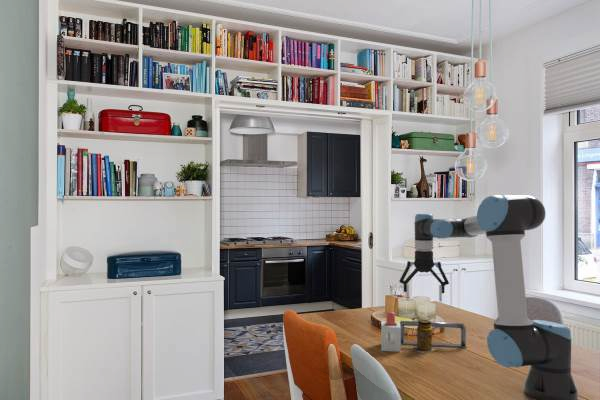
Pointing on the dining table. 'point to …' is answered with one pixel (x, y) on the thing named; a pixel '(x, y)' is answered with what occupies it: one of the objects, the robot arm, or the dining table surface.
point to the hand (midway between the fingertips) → (423, 300)
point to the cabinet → (390, 337)
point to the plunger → (390, 318)
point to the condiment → (424, 337)
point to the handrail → (436, 324)
